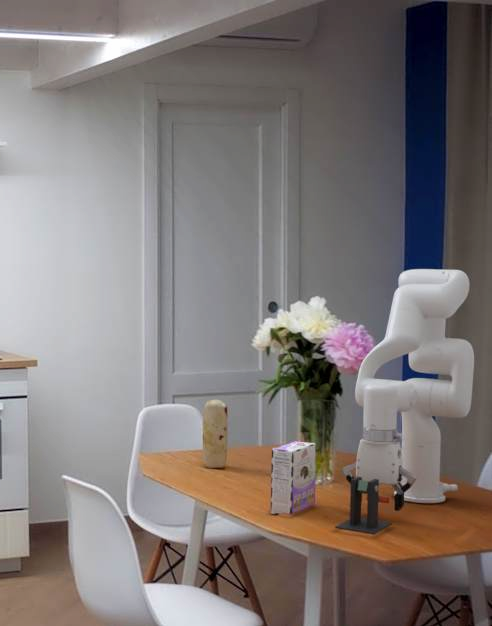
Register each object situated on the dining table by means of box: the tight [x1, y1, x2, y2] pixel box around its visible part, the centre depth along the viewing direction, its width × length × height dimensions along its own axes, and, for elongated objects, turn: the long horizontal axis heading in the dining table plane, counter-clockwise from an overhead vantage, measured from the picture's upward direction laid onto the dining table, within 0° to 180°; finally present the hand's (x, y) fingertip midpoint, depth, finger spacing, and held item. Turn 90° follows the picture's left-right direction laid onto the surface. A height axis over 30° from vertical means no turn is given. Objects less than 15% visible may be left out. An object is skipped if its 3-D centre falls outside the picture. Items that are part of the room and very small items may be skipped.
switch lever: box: [357, 480, 390, 504], centre depth 250 cm, size 12×5×2 cm, turn 143°
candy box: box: [269, 440, 317, 516], centre depth 264 cm, size 14×6×16 cm, turn 141°
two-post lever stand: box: [334, 476, 393, 535], centre depth 247 cm, size 12×9×12 cm
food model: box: [202, 399, 229, 469], centre depth 318 cm, size 10×7×20 cm
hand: (377, 506), depth 254 cm, fingers open, 9 cm apart
